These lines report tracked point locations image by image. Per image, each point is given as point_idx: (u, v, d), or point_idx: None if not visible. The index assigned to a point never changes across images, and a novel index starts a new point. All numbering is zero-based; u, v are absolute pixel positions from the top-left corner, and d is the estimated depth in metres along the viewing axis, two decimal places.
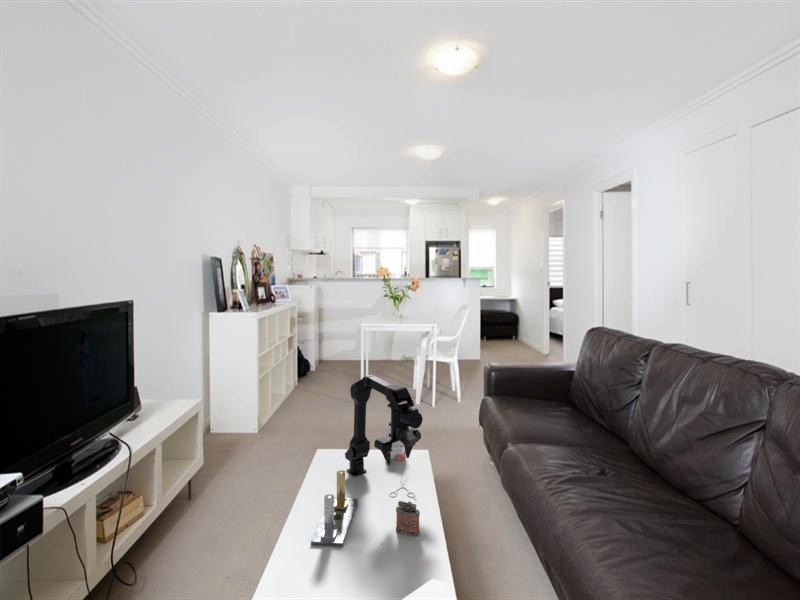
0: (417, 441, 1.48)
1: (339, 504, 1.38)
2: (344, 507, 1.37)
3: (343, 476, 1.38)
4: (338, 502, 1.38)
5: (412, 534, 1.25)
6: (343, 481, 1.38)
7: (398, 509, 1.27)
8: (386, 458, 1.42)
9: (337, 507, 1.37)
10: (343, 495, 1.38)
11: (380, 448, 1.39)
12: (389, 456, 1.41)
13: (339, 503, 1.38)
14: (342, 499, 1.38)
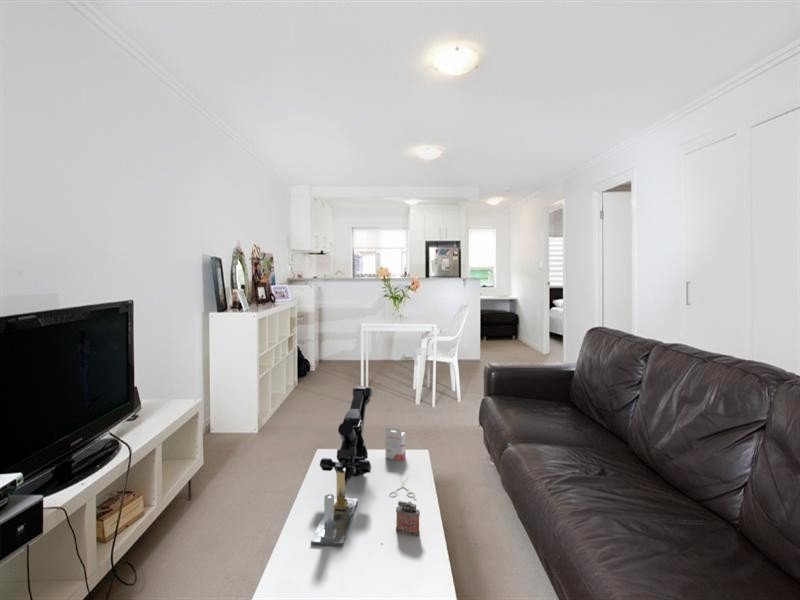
0: (350, 467, 1.43)
1: (339, 504, 1.38)
2: (344, 507, 1.37)
3: (343, 476, 1.38)
4: (338, 502, 1.38)
5: (412, 534, 1.25)
6: (343, 481, 1.38)
7: (398, 509, 1.27)
8: None
9: (337, 507, 1.37)
10: (343, 495, 1.38)
11: None
12: None
13: (339, 503, 1.38)
14: (342, 499, 1.38)
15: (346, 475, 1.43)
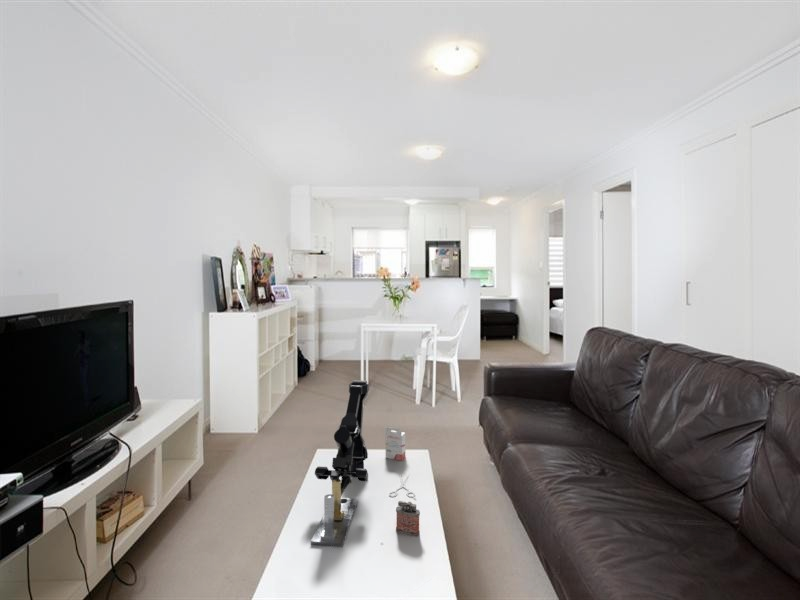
0: (347, 476, 1.37)
1: (335, 515, 1.31)
2: (340, 518, 1.31)
3: (339, 485, 1.31)
4: (334, 512, 1.32)
5: (412, 534, 1.25)
6: (339, 490, 1.31)
7: (398, 509, 1.27)
8: None
9: None
10: (339, 505, 1.32)
11: None
12: None
13: (335, 514, 1.31)
14: (338, 509, 1.32)
15: (342, 484, 1.36)
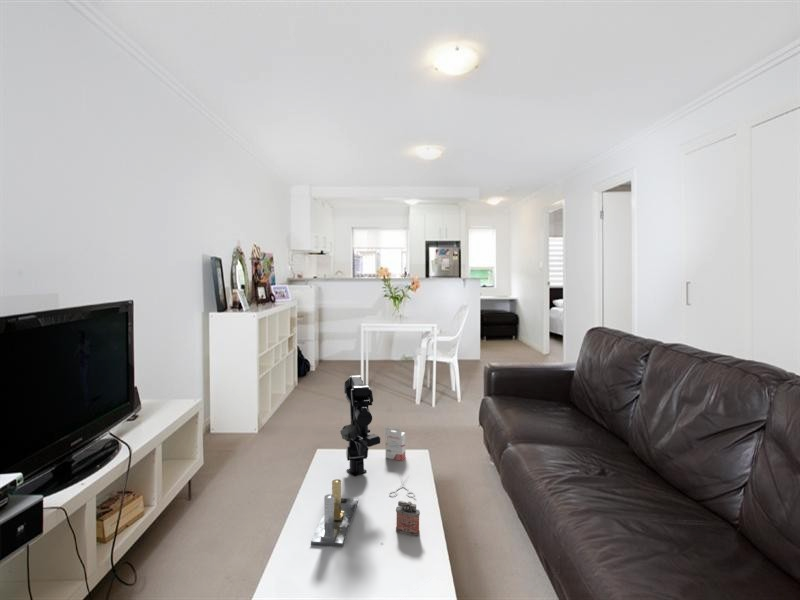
0: (358, 443, 1.50)
1: (335, 515, 1.31)
2: (340, 518, 1.31)
3: (339, 485, 1.31)
4: (334, 512, 1.32)
5: (412, 534, 1.25)
6: (339, 490, 1.31)
7: (398, 509, 1.27)
8: None
9: None
10: (339, 505, 1.32)
11: None
12: (357, 446, 1.54)
13: (335, 514, 1.31)
14: (338, 509, 1.32)
15: (359, 446, 1.53)
